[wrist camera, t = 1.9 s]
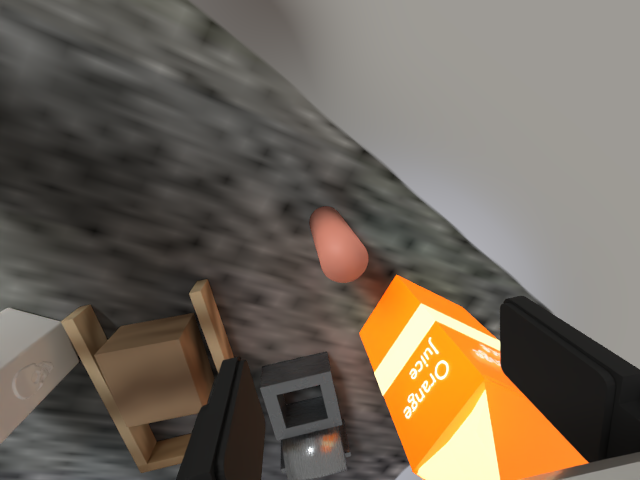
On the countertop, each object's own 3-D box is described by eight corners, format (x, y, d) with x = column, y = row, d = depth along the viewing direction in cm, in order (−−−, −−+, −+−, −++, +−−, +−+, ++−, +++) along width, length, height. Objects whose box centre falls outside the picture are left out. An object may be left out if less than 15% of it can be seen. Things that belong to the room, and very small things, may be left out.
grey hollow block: (260, 367, 32) (255, 405, 28) (328, 351, 33) (335, 386, 28) (286, 451, 36) (286, 498, 32) (347, 437, 37) (356, 480, 32)
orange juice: (396, 273, 31) (572, 477, 12) (463, 306, 33) (706, 527, 14) (357, 334, 33) (457, 599, 14) (423, 362, 35) (591, 628, 16)
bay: (79, 306, 28) (60, 321, 26) (207, 279, 29) (200, 290, 27) (150, 450, 34) (140, 473, 32) (256, 424, 35) (254, 445, 32)
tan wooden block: (121, 325, 30) (94, 355, 25) (194, 311, 30) (178, 339, 26) (148, 390, 32) (126, 427, 28) (214, 377, 33) (204, 412, 28)
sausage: (306, 210, 28) (316, 243, 18) (338, 203, 28) (364, 232, 19) (312, 240, 29) (325, 287, 19) (343, 233, 29) (371, 276, 20)
